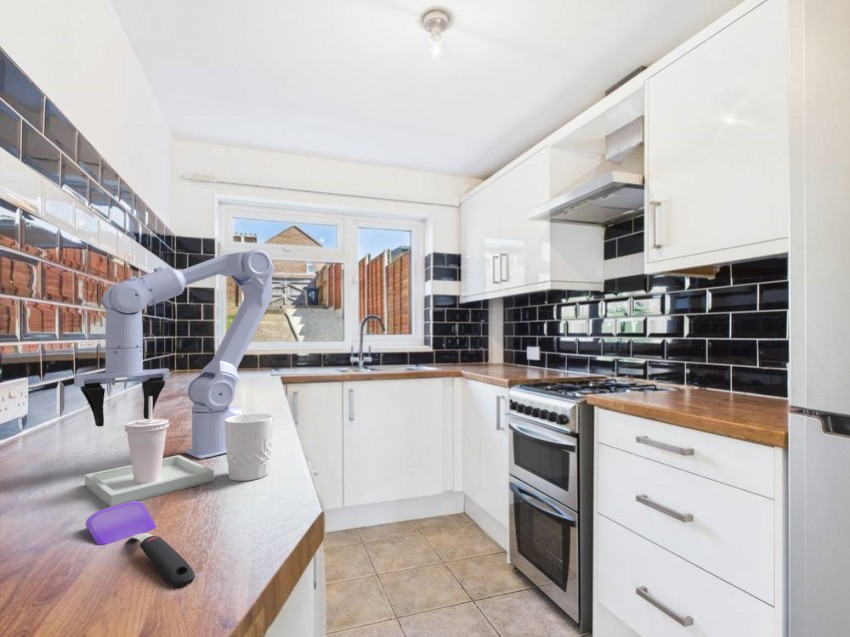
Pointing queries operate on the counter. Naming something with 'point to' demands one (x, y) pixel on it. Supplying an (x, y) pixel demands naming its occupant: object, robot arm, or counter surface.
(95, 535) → the spatula
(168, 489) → the tray
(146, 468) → the smoothie
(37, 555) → the counter surface
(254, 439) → the white cup
